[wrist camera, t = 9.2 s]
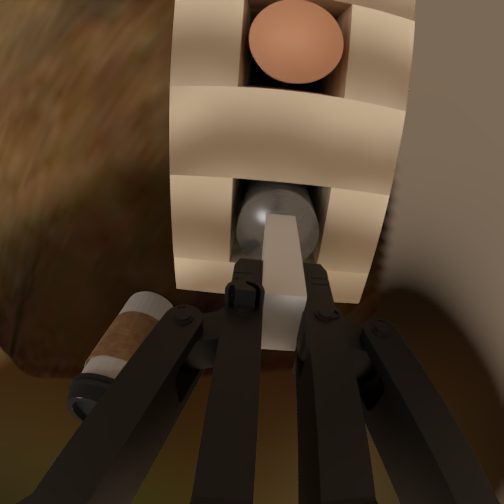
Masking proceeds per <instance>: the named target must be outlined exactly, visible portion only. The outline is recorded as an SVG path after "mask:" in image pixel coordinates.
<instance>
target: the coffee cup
mask: <svg viewBox="0 0 504 504" xmlns="http://www.w3.org/2000/svg"><path fill="white" fill-rule="evenodd" d="M172 307H173V305H172V304H171V303H170V302H169V301H168V300H167V299H166V298H164V297H163V296H161V295H159V294H156V293H153V292H148V291H142V292H137V293H135V294H133V295H132V296H131V297H130V298H129V300H128V301H127V303H126V304H125V306H124V307H123V309H122V310H121V312H120V313H119V315H118V316H117V317H116V318H115V320H114V321H113V323H112V324H111V325H110V327H109V328H108V330H107V331H106V333H105V334H104V335H103V337H102V338H101V340H100V341H99V343H98V344H97V346H96V347H95V349H94V350H93V352H92V353H91V355H90V356H89V358H88V359H87V361H86V363H85V368H84V370H83V371H82V373H81V374H77V375H76V376H75V377H74V378H73V380H72V382H71V384H70V386H69V394H68V398H67V407H68V409H69V411H70V412H71V413H72V414H73V415H74V416H75V417H76V418H77V419H78V420H79V421H80V422H83V421H84V420H85V418H86V417H87V416H88V414H89V413H90V411H91V410H92V409H93V407H94V406H95V405H96V403H97V402H98V401H99V399H100V398H101V397H102V395H103V394H104V393H105V391H106V390H107V388H108V387H109V386H110V384H111V383H112V382H113V380H114V379H115V378H116V376H117V375H118V374H119V372H120V371H121V370H122V368H123V367H124V366H125V365H126V363H127V362H128V361H129V359H130V358H131V357H132V355H133V354H134V353H135V351H136V350H137V349H138V347H139V346H140V345H141V344H142V342H143V341H144V340H145V338H146V337H147V336H148V334H149V333H150V332H151V331H152V329H153V328H154V327H155V325H156V324H157V323H158V322H159V320H160V319H161V318H162V316H163V315H164V314H165V313H166V312H167V311H168V310H169V309H170V308H172Z"/></svg>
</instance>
